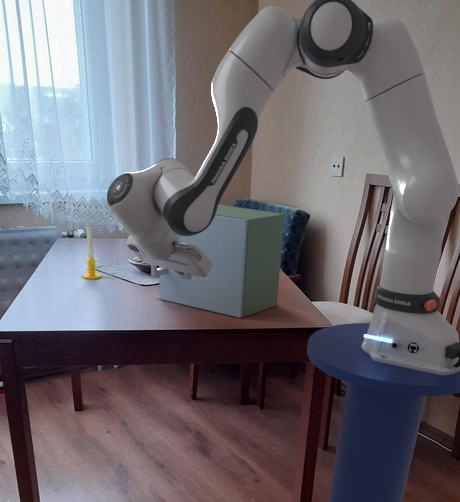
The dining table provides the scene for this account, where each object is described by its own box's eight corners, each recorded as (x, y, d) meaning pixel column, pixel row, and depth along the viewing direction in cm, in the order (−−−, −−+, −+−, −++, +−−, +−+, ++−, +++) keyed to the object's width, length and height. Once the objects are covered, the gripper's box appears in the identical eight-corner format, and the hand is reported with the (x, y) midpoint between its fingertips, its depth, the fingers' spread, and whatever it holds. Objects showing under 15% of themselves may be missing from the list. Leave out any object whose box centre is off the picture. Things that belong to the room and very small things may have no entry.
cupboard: (242, 317, 142) (248, 219, 131) (168, 296, 155) (168, 206, 144) (276, 305, 153) (284, 214, 142) (204, 286, 167) (207, 202, 156)
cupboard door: (228, 322, 136) (234, 222, 126) (147, 302, 148) (145, 209, 138) (242, 316, 141) (247, 220, 131) (161, 298, 153) (161, 207, 142)
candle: (103, 275, 173) (100, 223, 166) (97, 279, 168) (94, 226, 161) (86, 274, 173) (83, 222, 166) (81, 278, 169) (77, 225, 162)
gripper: (201, 234, 117) (227, 273, 129) (133, 221, 128) (163, 258, 139) (187, 258, 116) (214, 296, 127) (119, 243, 127) (150, 279, 138)
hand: (187, 276), depth 133 cm, fingers closed
